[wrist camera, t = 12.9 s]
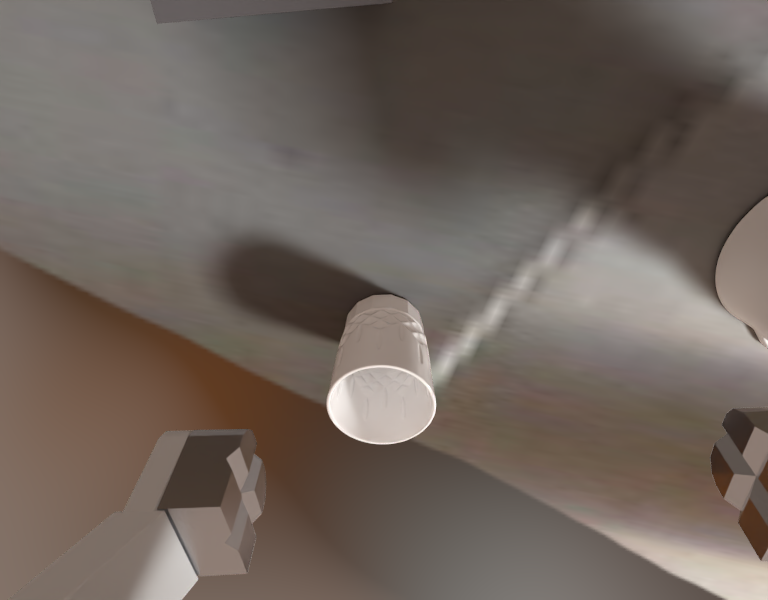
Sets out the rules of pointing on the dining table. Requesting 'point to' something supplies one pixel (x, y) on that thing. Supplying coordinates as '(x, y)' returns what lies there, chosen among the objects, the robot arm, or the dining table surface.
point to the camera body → (241, 7)
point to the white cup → (382, 373)
